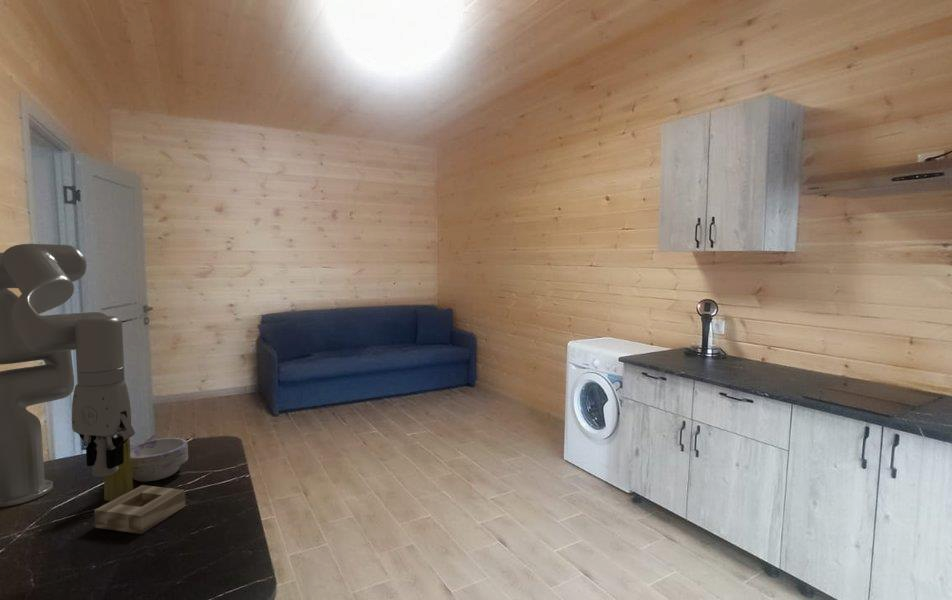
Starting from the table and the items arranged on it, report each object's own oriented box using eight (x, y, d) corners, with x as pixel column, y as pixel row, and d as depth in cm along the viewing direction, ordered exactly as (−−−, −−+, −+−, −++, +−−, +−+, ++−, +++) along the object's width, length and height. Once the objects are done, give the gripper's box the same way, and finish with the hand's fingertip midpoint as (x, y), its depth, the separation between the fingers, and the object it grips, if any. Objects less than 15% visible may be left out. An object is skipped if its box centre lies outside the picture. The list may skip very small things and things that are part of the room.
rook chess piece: (87, 478, 95) (85, 439, 95) (98, 469, 100) (96, 431, 99) (112, 476, 97) (111, 438, 96) (123, 467, 101) (121, 430, 100)
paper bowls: (149, 462, 139) (148, 435, 138) (200, 463, 138) (199, 437, 138) (107, 486, 124) (105, 457, 123) (164, 488, 123) (162, 458, 123)
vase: (117, 502, 116) (115, 445, 114) (97, 500, 117) (94, 443, 116) (140, 491, 121) (137, 436, 120) (120, 488, 123) (117, 434, 122)
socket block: (95, 527, 105) (94, 509, 105) (142, 500, 117) (142, 485, 116) (141, 533, 103) (140, 516, 102) (185, 506, 114) (184, 489, 114)
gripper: (48, 378, 95) (53, 468, 96) (118, 385, 91) (122, 477, 93) (86, 370, 102) (90, 453, 103) (152, 375, 98) (155, 461, 100)
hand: (105, 463), depth 98 cm, fingers closed on rook chess piece, 4 cm apart
